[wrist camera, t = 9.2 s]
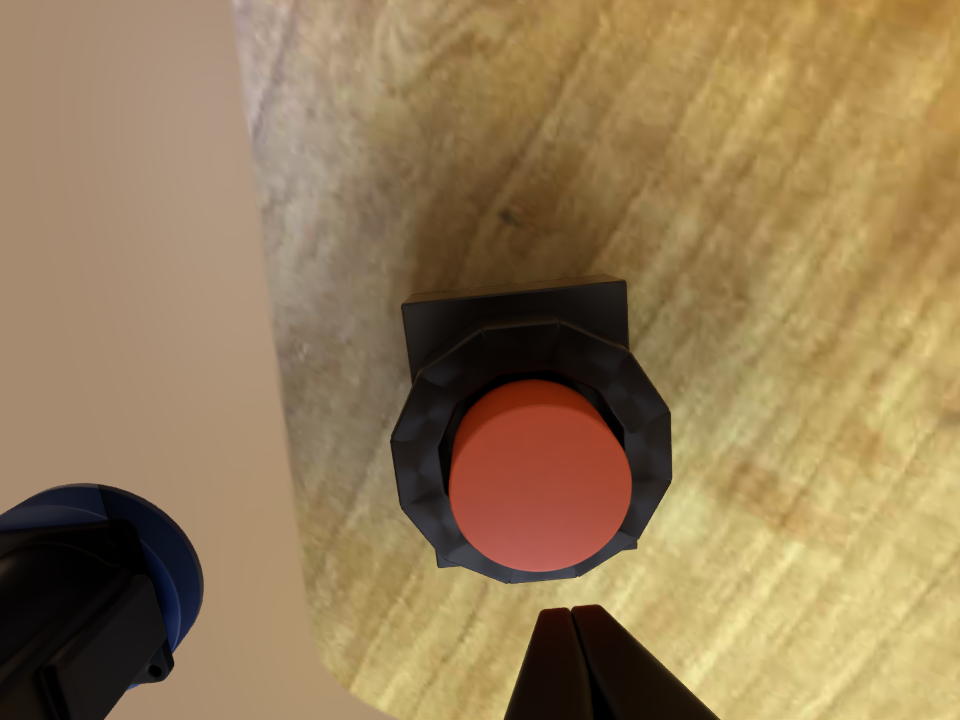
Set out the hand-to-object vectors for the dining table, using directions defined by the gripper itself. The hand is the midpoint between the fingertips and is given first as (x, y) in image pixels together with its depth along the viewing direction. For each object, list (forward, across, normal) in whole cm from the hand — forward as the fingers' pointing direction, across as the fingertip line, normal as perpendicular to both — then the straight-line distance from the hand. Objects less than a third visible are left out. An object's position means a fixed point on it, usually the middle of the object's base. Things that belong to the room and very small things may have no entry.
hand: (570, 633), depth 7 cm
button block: (+10, 0, 0) cm, 10 cm away
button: (+6, 0, 0) cm, 6 cm away
